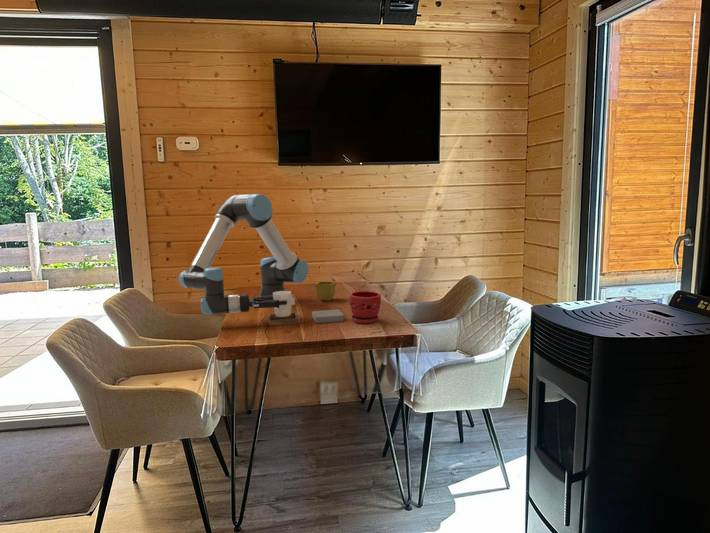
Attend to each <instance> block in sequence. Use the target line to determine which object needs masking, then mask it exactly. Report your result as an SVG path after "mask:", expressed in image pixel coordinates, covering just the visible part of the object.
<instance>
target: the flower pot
mask: <svg viewBox="0 0 710 533" xmlns="http://www.w3.org/2000/svg"><path fill="white" fill-rule="evenodd" d="M336 286H337V282H336V281H319V282H316V283H315V290H316V295H317V297H318V298H319V300H320V301H331V300H332V299H333V298H334V297H335V293H336Z"/></svg>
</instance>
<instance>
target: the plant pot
mask: <svg viewBox="0 0 710 533" xmlns="http://www.w3.org/2000/svg"><path fill="white" fill-rule="evenodd" d="M381 296H382V295H381V293H380V292H376V291H372V290H371V291H370V290H365V291H361V290H360V291H359V290H358V291H354V292H351V293H350V294H349V306H350V310H351V313H352V315H351V316H350V319H351V321H353V322H355V323H357V324H358V323H359V324H371V323H375V322H377V321H378V320H379V315H378V314H379V312H380V309H381V300H382V297H381Z"/></svg>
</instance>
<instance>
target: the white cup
mask: <svg viewBox="0 0 710 533" xmlns="http://www.w3.org/2000/svg"><path fill="white" fill-rule="evenodd" d="M291 295H292V291H291V290H286V291H277V292H274V293H273V300H279V299H291ZM273 309H274V314H275V316H277V317H287V316H290V315H291V313H292V305H286V306H279V308H277V307H273Z"/></svg>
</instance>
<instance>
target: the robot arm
mask: <svg viewBox="0 0 710 533" xmlns="http://www.w3.org/2000/svg"><path fill="white" fill-rule="evenodd" d="M272 207H273V204H272V202H271V200H270V199H269V197H267V196H266V195H264V194H260V193H252V194H247V193H246V194H234V195H231V196H230V197H228V198H227V199H226V200H225V201H224V202H223V203H222V204H221V205H220V207H219V208H218V210H217V211H216V213H215V215H214V216H213V217H214V221H213V223H212V225H211V227H210V229H209V231H208V233H207V234H206V236H205V238H204V240H203V241H202V244H201V245H200V247H199V249H198V251H197V253H196V254H195V256H194V258H193V259H192V262H191V264H190V266H189V267H188V269H186V270H183V271H181V272H180V274H179V276H178V283H179V284H180V286H181V287H183V288H186V289H193V290H194V289H195V290H203V291H204V294H205V296H202V297H201V298H200V309H201V313H202V314H203V315H222V314H232V315H234V314H236V313H239V312H241V313H249V312H250V308H253V309H255V310H256V309H267V308H270V309H271V308H273V309H274V307H277V308H279V306H286V305H291V306H295V305H296V300H295V299H296V298H295V297H294V295H293V294H291V299H279V300H273V293H274V292H277V291H287V290H286V286H285V283H293V284H299V283H303V282H305V280H306V278H307V277H308V273H309V264H308V262H307V261H306V260H304V259H300V258H299V256H298V255H297V254H296V253H295V252H293V251H291V249H290V248H289V245H288V244H287V242H286V241H285V239H284V238H283V236H282V234H281V233H280V231H279V229H278V228H277V226H276V224H275V222H274V221H273V219H272V218H273V208H272ZM238 221H246V222H247V224H248V226H249V227H250V228H251V229H255V230H256V232H257V233H258V235H259V236H260V238H261V239H262V241H263V243H264V244H265V245H266V247H267V249H268V250H269V252H270V254H271V255H272V256H270V257H264V258H263V257H262V258H261V259H260V280H261V282H260V283H261V287H260V291H259V295H258V296H255V295H254V296H253V297H251V298H249V297H250V296H249V294H248V293H245V294H244V293H243V294H228V295H225V287H224V286H225V285H224V283H225V282H224V274H223V269H222V268H221V267H218V266H217V267H216V266H215V267H212V264H213V262H214V260H215V258H216V256H217V255H218V252H219V250H220V248H221V247H222V245H223V243H224V241H225V239H226V237H227V236H228V233H229V231H230V230H231V228H234V227H235V225H236V223H238Z"/></svg>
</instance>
